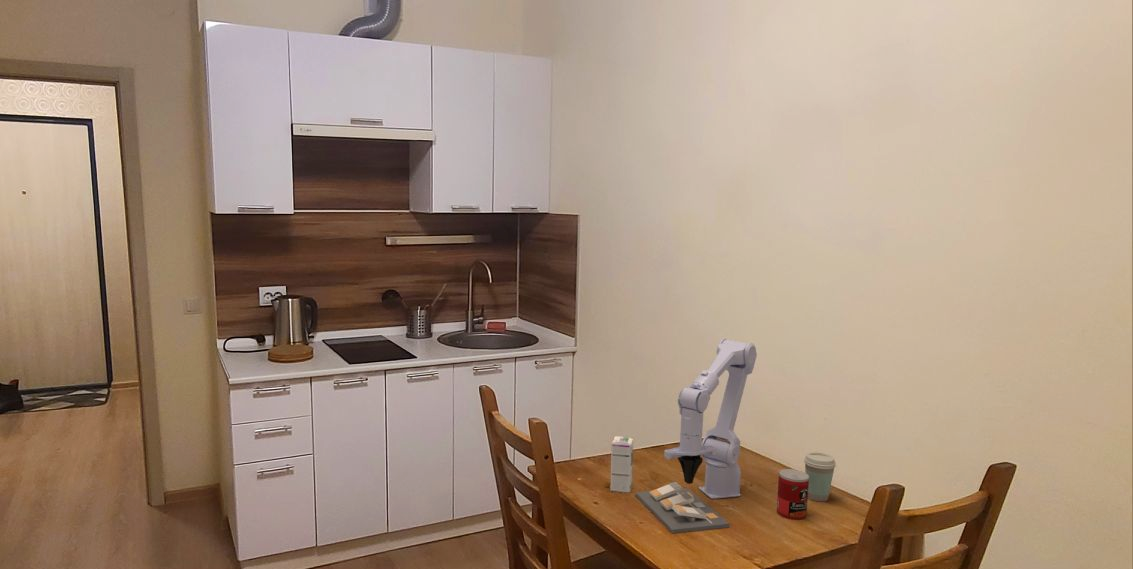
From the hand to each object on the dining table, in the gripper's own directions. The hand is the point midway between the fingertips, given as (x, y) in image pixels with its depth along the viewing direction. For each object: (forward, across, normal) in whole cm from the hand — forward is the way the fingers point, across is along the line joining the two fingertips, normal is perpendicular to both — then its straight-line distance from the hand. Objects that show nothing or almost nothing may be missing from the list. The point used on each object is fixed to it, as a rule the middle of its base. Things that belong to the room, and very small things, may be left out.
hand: (688, 482), depth 194 cm
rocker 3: (+5, +3, +7) cm, 9 cm away
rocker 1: (+5, +3, -7) cm, 9 cm away
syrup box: (+8, +11, -19) cm, 23 cm away
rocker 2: (+5, +3, 0) cm, 6 cm away
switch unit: (+8, +2, 0) cm, 8 cm away
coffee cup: (+8, -41, +2) cm, 42 cm away
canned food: (+8, -27, +9) cm, 29 cm away
